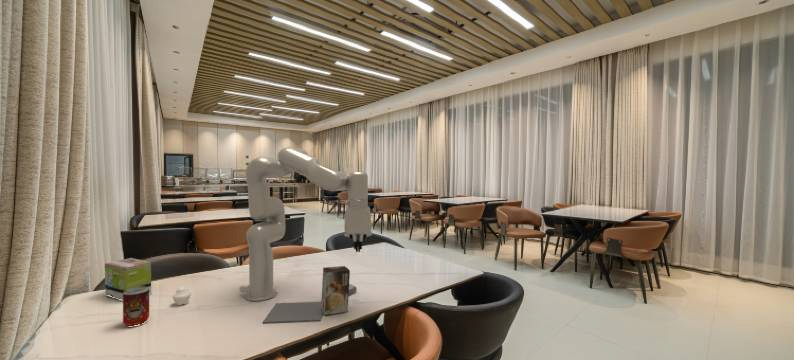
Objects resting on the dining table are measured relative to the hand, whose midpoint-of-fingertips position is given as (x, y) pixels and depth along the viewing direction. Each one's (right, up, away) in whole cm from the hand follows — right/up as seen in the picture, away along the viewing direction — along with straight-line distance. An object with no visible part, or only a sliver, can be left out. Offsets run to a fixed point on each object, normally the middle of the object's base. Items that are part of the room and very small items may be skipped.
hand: (358, 251), depth 119 cm
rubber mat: (-23, -23, -2) cm, 33 cm away
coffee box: (-9, -23, -1) cm, 25 cm away
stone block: (-10, -23, +17) cm, 30 cm away
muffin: (-72, -23, +5) cm, 76 cm away
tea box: (-101, -23, +14) cm, 104 cm away
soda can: (-76, -23, -11) cm, 81 cm away
